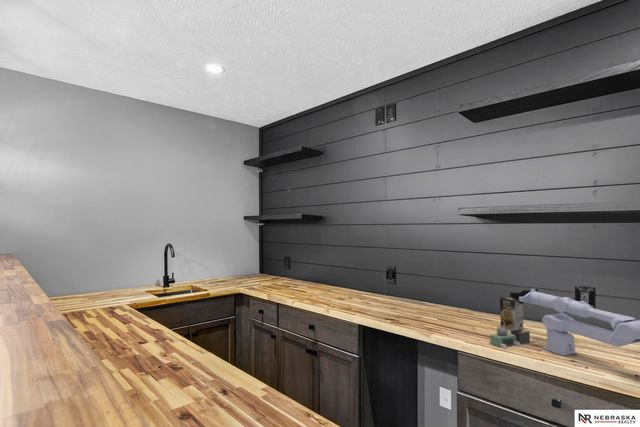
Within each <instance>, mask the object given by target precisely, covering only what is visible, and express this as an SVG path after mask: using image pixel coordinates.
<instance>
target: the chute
mask: <svg viewBox="0 0 640 427" xmlns="http://www.w3.org/2000/svg"><path fill="white" fill-rule="evenodd" d="M510 334H513V335H515V336H516V342H519V343H520V345H524V344H531V336H530V335H531V334H530V331H522V329H517V330H510Z"/></svg>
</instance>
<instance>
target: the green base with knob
mask: <svg viewBox="0 0 640 427" xmlns="http://www.w3.org/2000/svg"><path fill="white" fill-rule="evenodd" d="M489 339H490V341H489V342H490V343H489V344H491V345H493V346H495V347H498V348H501V349H504V350H506V349H507V347H508V346H509V347H510V346H515V347H521V344H520V343H519V342H516V336H515V335H513V334H511V332H508V329H506V328H503V327H501V326H497V327H496V333H494V334H490V338H489Z"/></svg>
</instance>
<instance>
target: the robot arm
mask: <svg viewBox="0 0 640 427" xmlns="http://www.w3.org/2000/svg"><path fill="white" fill-rule="evenodd" d="M509 293H510V294H509V295H510V296H509V297H512V298H514V299H515V300H517V301H518V302H519V303H520V304H523V305H524V303H528V304H531V305H536V306H540V307H544V308H549V309H552V310H553V309H554V310H555V311H556V312H557V313H554V314H546V315H544V316H543V317H542V320H541V321H542V324H543V326H544V327H545V330H546V341H547V346H543V347H542V349H543V350H547V351H549V352H553V353H555V354H558V355H561V356H570V355H574V354H577V351H576V344H575V343H576V342H575V341H576V340H575V336H574V335H573V334H576V335H578V336H582V337H585V338H589V339H591V340H594V341H597V342H601V343H604V344H606V345H610V346H612V347H615V348H620V347H625V346H628V345H631V344H635V343H639V342H640V319H636V318H635V317H633V316H629V315H628V316H627V315H624V314H618V313H614V312H612V311H611V312H609V311H605V310H602V309H598V308H593V307H592V306H591V305H590V304H589V303H586V301H584V300H581V301H580V300H579V301H578V300H574V299H572V298H571V297H570V298H569V297H568V296H563V297H561V296H556V295H554V294H548V293H544V292H540V291H539V289H538V288H536V289H535V288H531V289H530V290H529V289H528V290H525V289H523V290H521V292H509ZM564 312H565V313H564ZM566 313H568V314H570V315H574V316H578V317H580V318H581V317H582V318H584V319H587V318H589V317H590V318H594V319H597V320H600V321H603V322H606V323H609V324H610V326H611V327H612V329H613V330H609V329H605V328H602V327H598V326H595V325H592V324H588V323H585V322H581V321H578V320H575V319H574V318H573V317H570V316H569V315H567V314H566Z"/></svg>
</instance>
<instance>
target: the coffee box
mask: <svg viewBox="0 0 640 427" xmlns="http://www.w3.org/2000/svg"><path fill="white" fill-rule="evenodd" d="M499 306H500V307H499V309H500V311H499V314H500V327H503V328H506V329H507V331H511V330H517V329H522V332H525V331H524V330H525V329H524V304H520V303H519V302H518V301H517V300H515V299H514V298H512V297H510V296H501V297H499Z"/></svg>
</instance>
